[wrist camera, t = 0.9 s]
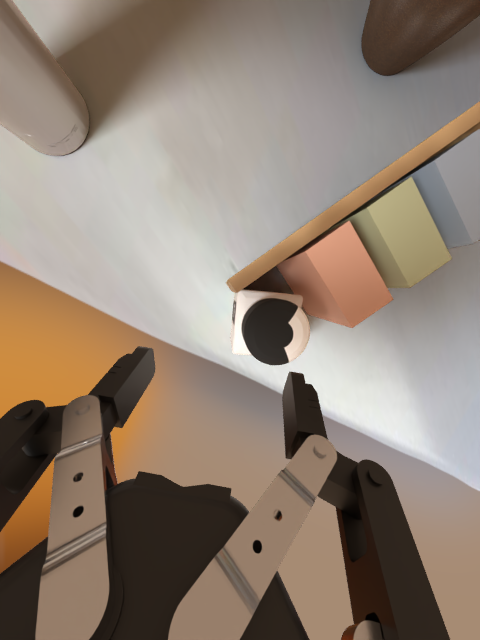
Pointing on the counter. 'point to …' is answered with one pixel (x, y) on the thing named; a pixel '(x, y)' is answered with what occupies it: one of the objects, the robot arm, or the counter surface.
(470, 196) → the book
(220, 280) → the counter surface
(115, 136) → the counter surface
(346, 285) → the book
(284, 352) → the container
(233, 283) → the wooden book rack
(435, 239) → the book
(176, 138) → the counter surface
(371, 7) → the plant pot
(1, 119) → the robot arm
